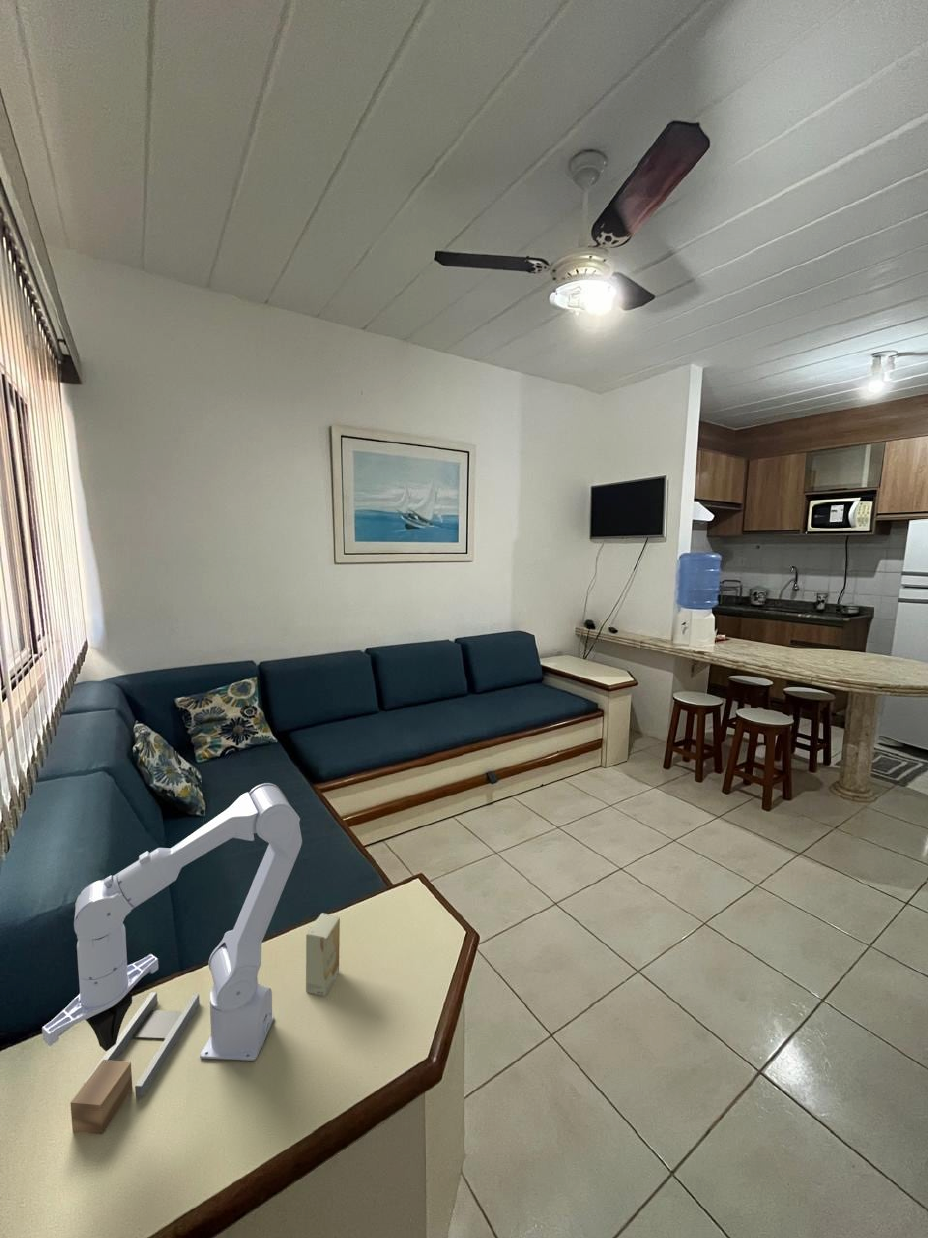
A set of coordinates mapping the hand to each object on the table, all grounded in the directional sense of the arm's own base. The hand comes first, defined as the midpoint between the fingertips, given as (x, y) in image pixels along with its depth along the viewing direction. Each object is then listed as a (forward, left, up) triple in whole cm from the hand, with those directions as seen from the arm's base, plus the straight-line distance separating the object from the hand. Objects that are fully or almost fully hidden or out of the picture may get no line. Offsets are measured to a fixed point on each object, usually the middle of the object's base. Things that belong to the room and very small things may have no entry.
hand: (107, 1044), depth 74 cm
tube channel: (0, -8, -10) cm, 13 cm away
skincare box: (-26, -22, -10) cm, 36 cm away
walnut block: (0, +1, -10) cm, 10 cm away
